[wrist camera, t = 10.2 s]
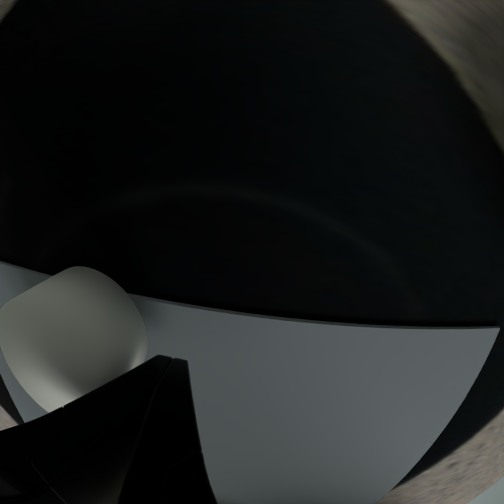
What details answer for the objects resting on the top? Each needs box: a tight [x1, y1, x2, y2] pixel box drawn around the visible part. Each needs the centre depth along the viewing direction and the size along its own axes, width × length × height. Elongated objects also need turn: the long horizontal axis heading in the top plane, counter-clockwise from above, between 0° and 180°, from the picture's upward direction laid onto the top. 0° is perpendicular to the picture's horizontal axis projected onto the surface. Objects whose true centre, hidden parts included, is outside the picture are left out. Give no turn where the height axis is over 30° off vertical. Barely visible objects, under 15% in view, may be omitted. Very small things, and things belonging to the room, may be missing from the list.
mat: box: [0, 261, 500, 504], centre depth 11 cm, size 25×21×1 cm
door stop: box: [0, 266, 148, 412], centre depth 7 cm, size 4×4×3 cm
